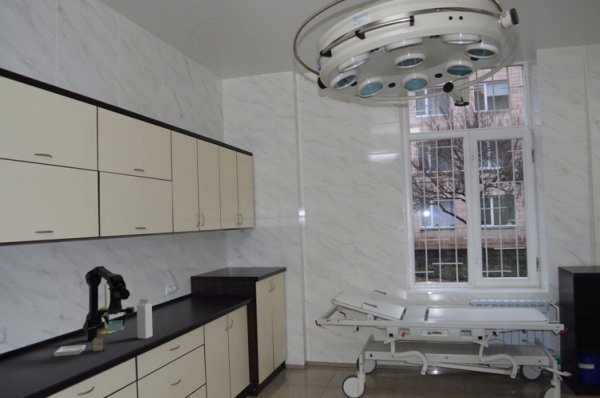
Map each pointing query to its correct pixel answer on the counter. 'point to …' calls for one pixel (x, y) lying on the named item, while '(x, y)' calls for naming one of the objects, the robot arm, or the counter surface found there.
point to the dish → (69, 350)
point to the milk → (144, 319)
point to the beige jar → (98, 344)
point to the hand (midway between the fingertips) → (116, 327)
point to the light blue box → (115, 325)
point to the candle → (106, 308)
